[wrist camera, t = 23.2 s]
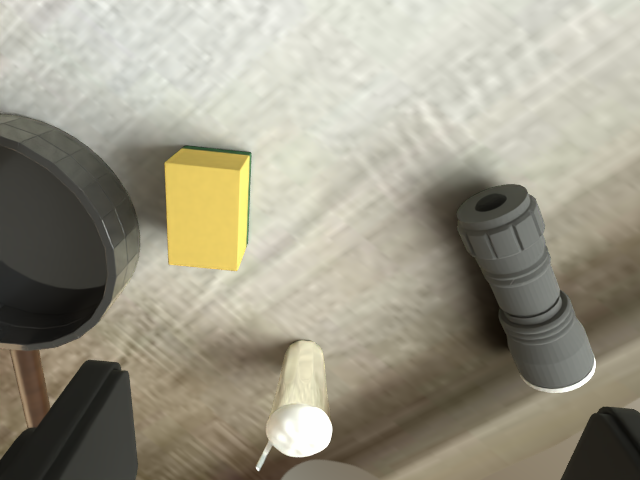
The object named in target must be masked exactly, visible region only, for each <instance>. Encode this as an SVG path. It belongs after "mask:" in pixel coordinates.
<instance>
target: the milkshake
mask: <svg viewBox="0 0 640 480" xmlns="http://www.w3.org/2000/svg"><path fill="white" fill-rule="evenodd" d="M266 434H267V437H268V439H269V442H268V444H267V446H266V447H265V449H264V451H263V453H262V455H261V457H260V459H259V461H258V463H257V465H256V469H257V470H258V471H260V469H261V467H262V465H263V463H264V461H265V459H266V457H267V455H268V453H269V451H270V449H271V447H272V445H273V446H274V447H275V448H276V449H278V450H279V451H280V452H282V453H283V454H285V455H288V456H293V457H306V456H310V455H313V454H315V453H318V452H320V451H322V450H323V449H324V448H326V447H327V445H328V444H329V442H330V439H331V435H332V423H331V416H330V409H329V402H328V396H327V386H326V375H325V364H324V357H323V352H322V348H320V347H319V346H318V345H317V344H315V343H314V342H312V341H304V340H300V341H298V342H295V343H293V344H291V345H290V346H289V348H288V350H287V352H286V353H285V357H284V361H283V365H282V369H281V373H280V377H279V381H278V385H277V389H276V394H275V397H274V401H273V404H272V408H271V411H270V415H269V418H268V422H267V425H266Z"/></svg>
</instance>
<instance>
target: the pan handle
mask: <svg viewBox="0 0 640 480" xmlns="http://www.w3.org/2000/svg"><path fill="white" fill-rule="evenodd" d="M10 354H11V358H12V362H13V367H14V371H15V375H16V380H17V384H18V388H19V393H20V397H21V401H22V406H23V410H24V414H25V419H26V423H27V427H28V428H30V427H37V426H38V425H39V424H40V422H41V421H42V419H43V418H44V417H45V415H46V414H47V413H48V411H49V410H50V404H49V399H48V394H47V389H46V383H45V378H44V373H43V368H42V363H41V358H40V353H39V350H32V351H22V350H11V349H10Z"/></svg>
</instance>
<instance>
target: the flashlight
mask: <svg viewBox="0 0 640 480" xmlns="http://www.w3.org/2000/svg"><path fill="white" fill-rule="evenodd" d="M457 218H458V223H457V226H458V227H457V230H458V232H459V234H460V237H461V239H462V241H463V243H464V246H465V248H466V250H467V252H468V253H469V254H470V255H471V256H473V257H475V259H476V261H477V263H478V265H479V266H480V269H481V271H482V272H483V275H484V278H485V279H486V280H487V281H488V282H489V284H490V286H491V288H492V291H493V293H494V295H495V297H496V300H497V302H498V304H499V306H500V309H499V320H500V322H501V324H502V327H503V329H504V331H505V333H506V335H507V340H508V347H509V350H510V352H511V355H512V357H513V359H514V361H515V364H516V366H517V368H518V370H519V373H520V375H521V377H522V378H523V380H524V381H525V382H526V383H527V384H528V385H529V386H531V387H532V388H534V389H536V390H539V391H543V392H549V393H561V392H567V391H571V390H573V389H576V388H578V387H580V386H582V385H584V384H585V383H586V382H587V381H588V380H589V379H590V378H591V377H592V375H593V374H594V371H595V368H596V361H595V358H594V355H593V352H592V349H591V346H590V344H589V341H588V338H587V335H586V332H585V329H584V327H583V326H582V324H581V323H580V322H579V320H578V319H577V318H576V317H575V312H574V310H573V307H572V304H571V301H570V299H569V297H568V296H567V295H566V294H565V293H564V292H563V291H561V290H560V289H559V286H558V283H557V280H556V277H555V275H554V272H553V269H552V267H551V264H550V261H551V257H550V254H549V252H548V249H547V246H546V245H545V243H546V242H545V239H544V236H543V232H544V229H545V224H544V221H543V218H542V215H541V212H540V210H539V207H538V204H537V201H536V199H535V198H534V197H533V196H531V195H529V194H528V192H527V190H526V188H525V187H523V186H520V185H515V184H507V185H501V186H496V187H492V188H489V189H486V190H484V191H482V192H480V193H477V194H476V195H474V196H472V197H470V198H469V199H468V200H466V201H465V202H464V203H463V204H462V205H461V206H460V207H459V209H458V211H457Z"/></svg>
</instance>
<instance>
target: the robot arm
mask: <svg viewBox="0 0 640 480" xmlns="http://www.w3.org/2000/svg"><path fill="white" fill-rule="evenodd" d="M137 468H138V461H137V451H136V441H135V430H134V420H133V410H132V399H131V389H130V379H129V373H128V371H121V367H120V364H119V363H117V362H107V361H96V360H88V361H86V362H85V363H84V364H83V365H82V366H81V367H80V369H79V370H78V372H77V373H76V374H75V376H74V377H73V378H72V380H71V381H70V382H69V384H68V385H67V387H66V388H65V389H64V391H63V392H62V393H61V395H60V396H59V398H58V399H57V400H56V402H55V403H54V404H53V406H52V407H51V408H50V410H49V411H48V413H47V414H46V415H45V417H44V418H43V419H42V421H41V422H40V424H39V425H38V426H37V427H30V428H28V429H27V430H25V431H23V432H22V433H21V435H20V436H19V437H18V438H17V439H16V440H15V441H14V443H13V444H12V445H11V447H10V448H9V449H8V451H7V452H6V453H5V455H4V456H3V457H2V459H1V460H0V480H135V479H136V475H137ZM561 480H640V413H639V412H638V411H636V410H634V409H626V408H615V407H602V408H600V409H599V411H598V412H597V413H594V414H593V415H591V417H590V419H589V421H588V423H587V425H586V427H585V429H584V431H583V433H582V436H581V438H580V440H579V442H578V444H577V446H576V449H575V451H574V453H573V455H572V457H571V459H570V461H569V463H568V465H567V468H566V470H565V472H564V474H563V476H562V478H561Z"/></svg>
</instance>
